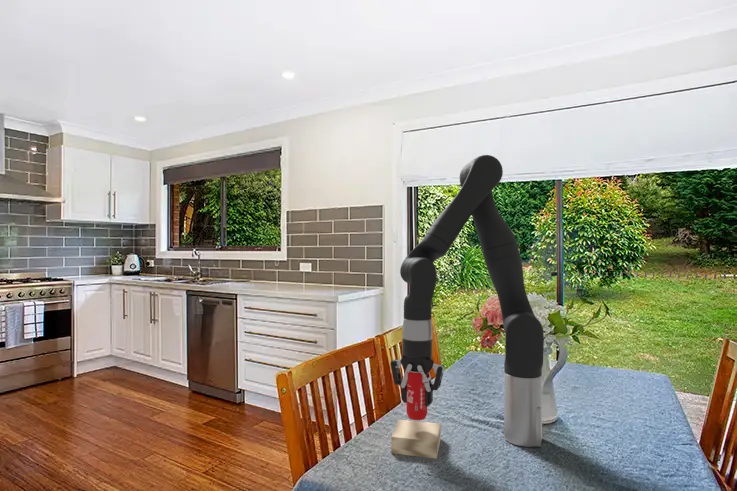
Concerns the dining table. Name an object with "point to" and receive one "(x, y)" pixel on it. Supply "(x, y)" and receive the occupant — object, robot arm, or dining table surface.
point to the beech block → (416, 438)
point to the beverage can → (416, 396)
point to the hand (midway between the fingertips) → (416, 403)
